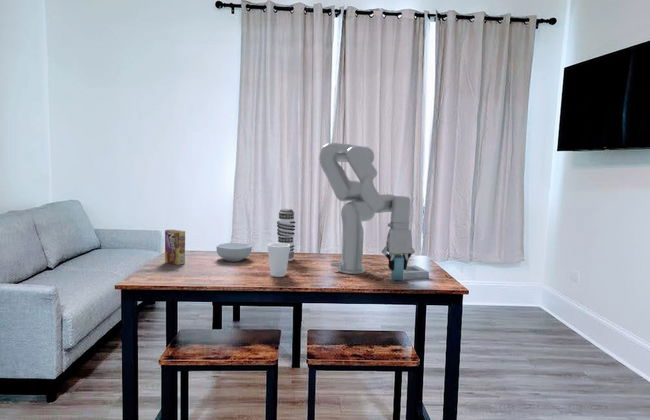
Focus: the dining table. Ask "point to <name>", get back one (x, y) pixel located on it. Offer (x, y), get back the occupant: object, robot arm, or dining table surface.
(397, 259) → the blue cylinder
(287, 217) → the decorative candle
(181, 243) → the candy box
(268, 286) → the dining table surface
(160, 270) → the dining table surface
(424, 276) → the frame
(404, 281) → the mat
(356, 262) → the robot arm
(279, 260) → the foam cup
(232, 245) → the cereal bowl
